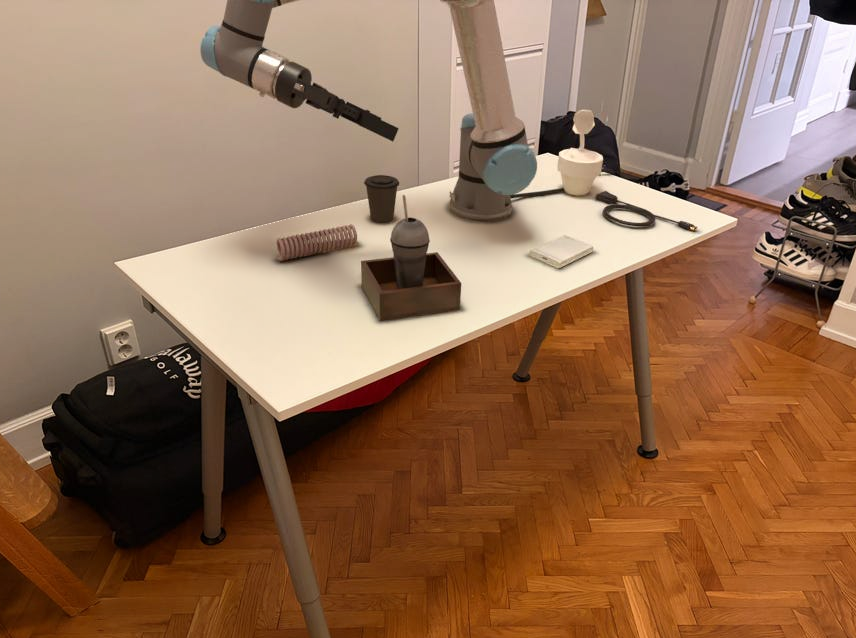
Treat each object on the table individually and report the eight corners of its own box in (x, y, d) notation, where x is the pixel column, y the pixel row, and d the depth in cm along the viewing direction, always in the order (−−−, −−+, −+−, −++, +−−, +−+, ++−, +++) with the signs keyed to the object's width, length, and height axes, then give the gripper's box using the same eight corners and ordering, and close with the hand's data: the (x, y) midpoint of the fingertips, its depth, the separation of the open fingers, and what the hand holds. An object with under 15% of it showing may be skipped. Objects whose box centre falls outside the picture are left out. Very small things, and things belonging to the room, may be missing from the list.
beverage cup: (427, 305, 135) (430, 204, 124) (388, 303, 135) (387, 202, 124) (429, 287, 141) (432, 189, 130) (392, 285, 141) (392, 187, 130)
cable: (666, 244, 166) (667, 238, 165) (570, 207, 182) (571, 201, 181) (696, 230, 174) (698, 224, 173) (603, 195, 190) (604, 190, 189)
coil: (280, 245, 144) (361, 229, 153) (271, 234, 147) (352, 219, 156) (281, 265, 147) (361, 248, 156) (273, 254, 150) (351, 238, 159)
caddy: (436, 277, 146) (437, 252, 143) (459, 309, 136) (461, 283, 133) (361, 286, 141) (360, 260, 138) (379, 320, 131) (379, 293, 128)
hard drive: (564, 234, 164) (530, 249, 156) (593, 246, 159) (560, 262, 151) (563, 241, 165) (529, 256, 157) (592, 252, 160) (559, 269, 152)
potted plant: (592, 203, 185) (609, 103, 171) (549, 195, 188) (561, 96, 174) (602, 187, 195) (618, 92, 181) (560, 180, 198) (573, 85, 184)
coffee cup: (373, 228, 165) (372, 186, 159) (359, 215, 170) (358, 174, 165) (405, 222, 168) (405, 181, 163) (390, 210, 174) (390, 169, 168)
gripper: (299, 110, 144) (394, 156, 144) (247, 87, 120) (360, 142, 119) (314, 74, 143) (409, 120, 142) (263, 43, 119) (378, 98, 118)
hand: (387, 130), depth 131 cm, fingers open, 13 cm apart
